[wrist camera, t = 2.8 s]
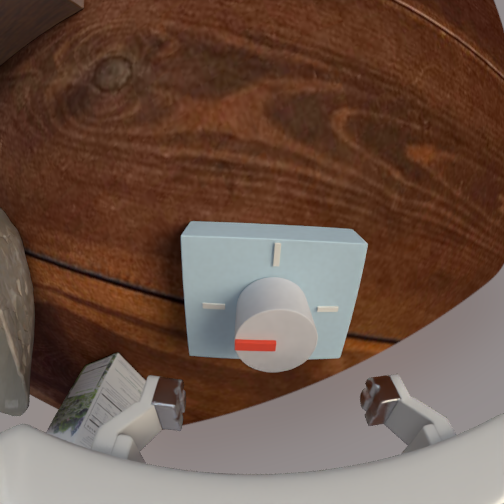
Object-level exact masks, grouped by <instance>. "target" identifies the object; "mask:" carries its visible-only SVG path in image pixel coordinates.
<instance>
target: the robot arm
mask: <svg viewBox="0 0 504 504" xmlns="http://www.w3.org/2000/svg"><path fill="white" fill-rule="evenodd" d="M365 384H366V388H364V389H363V390H362V393H361V396H360V402H361V407H362V409H364V410H365V411H366V414H365V418H366V420H367V423H368V426H373V425H379V424H385V425H386V426H387V427H388V428H389V429H390V430H391V431H392V432H393V433H394V434H396V435H397V436H398V437H399V438H400V439H401V440H402V441H403V442H405V443H406V444H407V445H408V446H407V448H406V449H405V450H404V451H403V453H402V454H401V455H397V456H393V457H389V458H385V459H382V460H377V461H373V462H368V463H363V464H358V465H353V466H348V467H341V468H334V469H328V470H319V471H310V472H299V473H285V474H223V473H209V472H198V471H188V470H180V469H174V468H167V467H161V466H156V465H150V464H146V462H145V461H144V459H143V457H142V455H141V454H140V451H141V450H142V449H143V448H144V447H145V446H146V445H147V444H148V443H149V442H150V441H151V440H152V439H153V438H154V437H155V436H156V435H157V434H158V433H159V432H160V431H161V430H162V429H169V430H178V431H181V429H182V423H183V415H182V413H183V412H185V407H186V393H185V391H184V390H183V389H184V382H183V380H180V379H173V378H166V377H158V376H152V375H149V376H148V377H147V380H146V383H145V385H144V388H143V391H142V394H141V397H140V400H139V402H135V403H133V404H132V405H130V406H129V407H128V408H126V409H125V410H123V411H122V412H120V413H119V414H118V415H116V416H115V417H113V418H112V419H110V420H109V421H107V422H106V423H105V424H103V425H102V426H100V427H99V428H98V430H97V433H96V435H95V438H94V441H93V443H92V446H91V448H90V449H88V448H85V447H82V446H79V445H76V444H73V443H71V442H68V441H65V440H63V439H60V438H58V437H55V436H53V435H50V434H48V433H46V432H43V431H41V430H39V429H37V428H34V427H32V426H30V425H27V424H20V425H17V426H14V427H12V428H10V429H8V430H5V431H4V432H1V433H0V504H504V413H503V414H500V415H498V416H496V417H494V418H492V419H490V420H488V421H486V422H485V423H482V424H480V425H478V426H476V427H474V428H472V429H469V430H467V431H465V432H463V433H461V434H458V435H456V434H455V432H454V430H453V428H452V426H451V424H450V422H449V421H448V419H447V418H446V417H445V416H443V415H441V414H440V413H438V412H437V411H435V410H433V409H432V408H430V407H429V406H427V405H425V404H424V403H422V402H421V401H419V400H417V399H416V398H414V397H410V395H409V393H408V391H407V389H406V387H405V385H404V384H403V382H402V380H401V378H400V376H399V375H398V374H395V375H388V376H380V377H373V378H369V379H367V381H366V383H365Z"/></svg>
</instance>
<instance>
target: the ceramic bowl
mask: <svg viewBox="0 0 504 504" xmlns="http://www.w3.org/2000/svg"><path fill="white" fill-rule="evenodd" d="M34 323H35V308H34V296H33V285H32V281H31V277H30V272H29V267H28V264H27V260H26V256H25V252H24V247H23V242H22V240H21V237H20V235H19V232H18V230H17V229H16V227H15V226H14V225H13V224H12V223H11V222H10V220H9V218H8V216H7V215H6V213H5V212H4V211H3V210H2V209H1V208H0V412H2V413H5V414H9V415H12V416H21V415H22V414H23V413H24V412H25V411H26V410H27V408H28V406H29V393H30V372H31V360H32V350H33V342H34Z"/></svg>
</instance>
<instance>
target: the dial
mask: <svg viewBox="0 0 504 504" xmlns="http://www.w3.org/2000/svg"><path fill="white" fill-rule="evenodd" d="M317 341H318V334H317V330H316V327H315V324H314V320H313V317H312V314H311V311H310V308H309V305H308V302H307V299H306V297H305V294H304V292H303V291H302V290H301V288H300V287H299V286H298V285H296V284H295V283H294V282H292V281H290V280H287V279H284V278H279V277H268V278H263V279H260V280H257V281H255V282H253V283H251V284H250V285H249V286H247V287H246V288H245V289H244V290H243V291H242V293H241V294H240V296H239V298H238V301H237V307H236V320H235V335H234V347H235V351H236V353H237V355H238V356H239V358H240V359H241V360H242V361H243V362H244V363H245V364H246V365H248V366H249V367H251V368H253V369H256V370H259V371H264V372H282V371H287V370H290V369H293V368H295V367H297V366H299V365H301V364H302V363H304V362H305V361H306V360H307V359H308V358H309V357H310V356H311V355H312V353H313V352H314V350H315V348H316V345H317Z"/></svg>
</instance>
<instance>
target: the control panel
mask: <svg viewBox="0 0 504 504" xmlns="http://www.w3.org/2000/svg"><path fill="white" fill-rule="evenodd" d="M367 246H368V244H367V243H366V242H365V241H364V240H363V239H362V238H361V237H360V236H359V235H358V234H357V233H356V232H355V231H354V230H353V229H343V228H328V227H312V226H294V225H274V224H253V223H228V222H198V221H191V222H190V223H189V224H188V226H187V227H186V229H185V230H184V232H183V233H182V234H181V258H182V276H183V291H184V304H185V316H186V327H187V337H188V347H189V355H190V356H200V357H215V358H233V359H240V358H239V356H238V355H237V353H236V351H235V347H234V335H235V320H236V307H237V301H238V298H239V296H240V294H241V293H242V291H243V290H244V289H245V288H246V287H247V286H249V285H250V284H251V283H253V282H255V281H257V280H260V279H263V278H268V277H279V278H284V279H287V280H290V281H292V282H294V283H295V284H296V285H298V286H299V287H300V288H301V290H302V291H303V292H304V294H305V297H306V299H307V302H308V305H309V308H310V311H311V314H312V317H313V320H314V324H315V327H316V330H317V334H318V341H317V345H316V348H315V350H314V352H313V353H312V355H311V356H310V357H309V358H308V359H330V358H340V356H341V353H342V349H343V346H344V343H345V339H346V336H347V332H348V328H349V325H350V321H351V317H352V314H353V310H354V306H355V302H356V298H357V293H358V289H359V285H360V280H361V276H362V271H363V267H364V262H365V257H366V252H367Z"/></svg>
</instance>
